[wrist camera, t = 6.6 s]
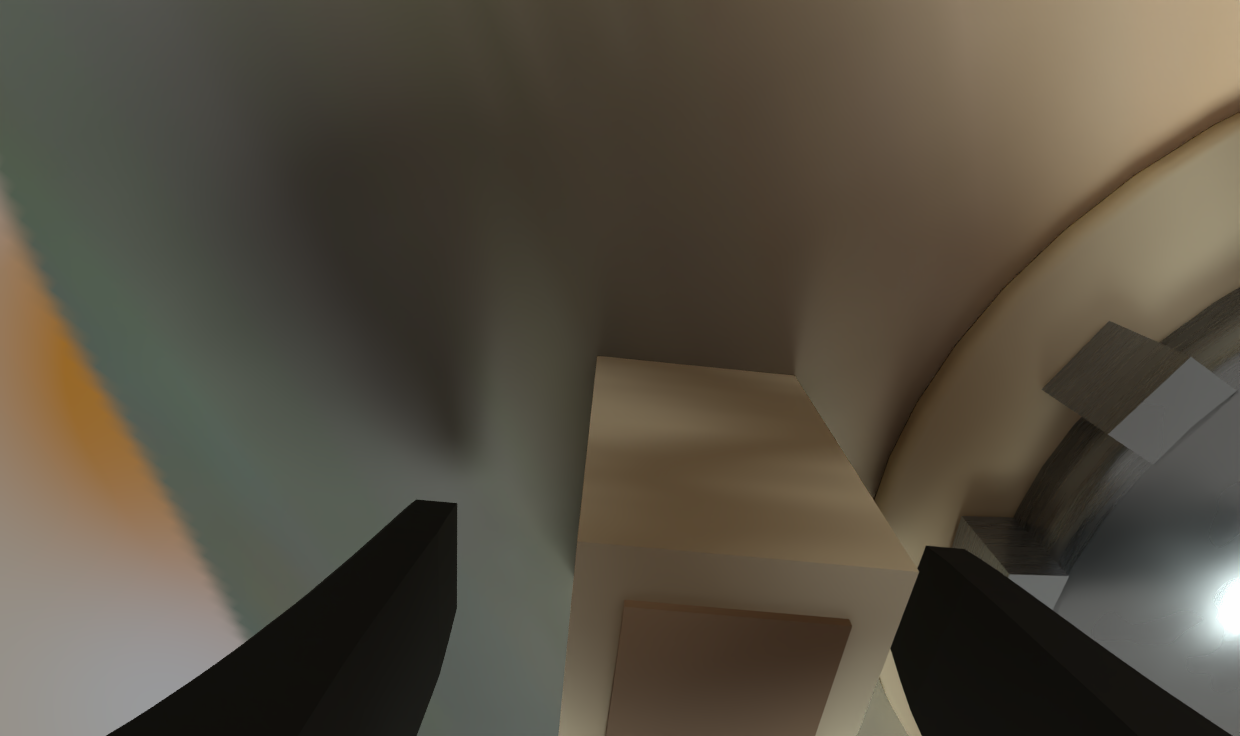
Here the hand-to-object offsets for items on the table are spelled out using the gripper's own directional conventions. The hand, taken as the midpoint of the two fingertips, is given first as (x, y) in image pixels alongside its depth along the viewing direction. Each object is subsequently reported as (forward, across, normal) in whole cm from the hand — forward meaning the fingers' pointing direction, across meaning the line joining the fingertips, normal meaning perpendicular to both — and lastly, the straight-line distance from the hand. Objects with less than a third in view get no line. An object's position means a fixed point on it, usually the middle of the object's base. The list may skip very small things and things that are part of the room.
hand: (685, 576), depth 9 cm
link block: (+2, 0, 0) cm, 3 cm away
